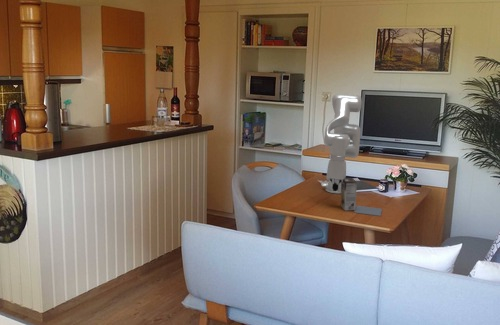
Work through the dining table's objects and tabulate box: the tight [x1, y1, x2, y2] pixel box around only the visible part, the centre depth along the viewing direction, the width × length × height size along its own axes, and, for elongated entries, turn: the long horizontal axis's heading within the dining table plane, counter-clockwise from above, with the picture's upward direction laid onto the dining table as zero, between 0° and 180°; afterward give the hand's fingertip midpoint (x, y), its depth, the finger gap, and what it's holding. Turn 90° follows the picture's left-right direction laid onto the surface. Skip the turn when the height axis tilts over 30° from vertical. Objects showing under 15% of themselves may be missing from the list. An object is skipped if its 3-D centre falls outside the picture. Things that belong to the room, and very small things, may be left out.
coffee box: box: [340, 177, 358, 211], centre depth 286 cm, size 9×6×16 cm
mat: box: [353, 205, 383, 217], centre depth 284 cm, size 14×14×1 cm
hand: (335, 190), depth 288 cm, fingers closed
